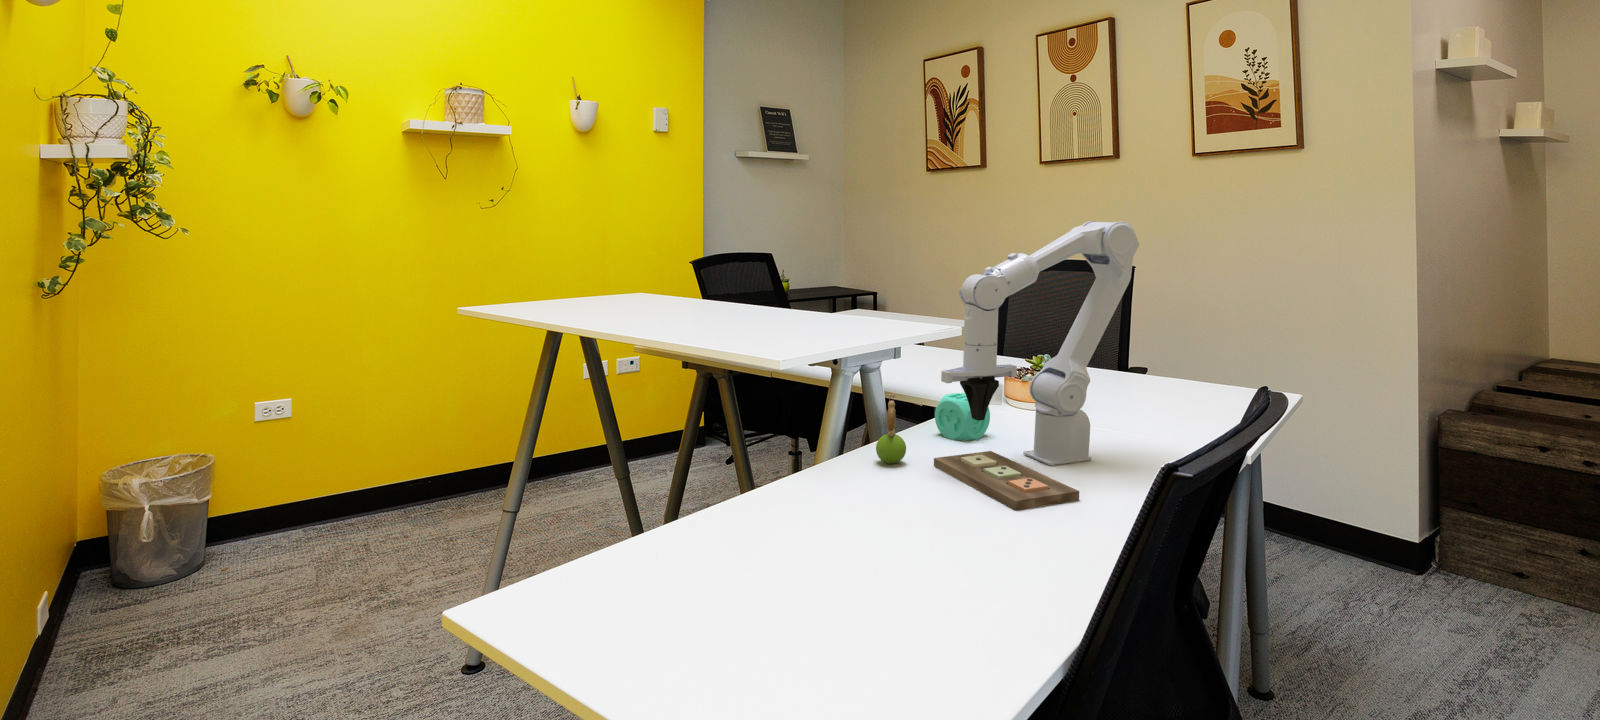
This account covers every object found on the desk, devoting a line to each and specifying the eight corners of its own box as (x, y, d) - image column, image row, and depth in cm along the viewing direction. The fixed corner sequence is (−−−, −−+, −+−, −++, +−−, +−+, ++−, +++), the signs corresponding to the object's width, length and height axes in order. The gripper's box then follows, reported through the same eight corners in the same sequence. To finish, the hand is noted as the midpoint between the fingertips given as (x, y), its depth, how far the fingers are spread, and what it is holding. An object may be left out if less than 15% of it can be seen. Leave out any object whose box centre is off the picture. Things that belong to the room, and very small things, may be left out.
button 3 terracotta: (1030, 489, 135) (1030, 476, 134) (1047, 497, 131) (1048, 485, 130) (1007, 492, 133) (1008, 480, 133) (1024, 501, 129) (1025, 488, 129)
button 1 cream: (981, 465, 148) (982, 454, 147) (996, 472, 144) (996, 460, 143) (960, 468, 146) (960, 456, 146) (974, 475, 142) (974, 463, 142)
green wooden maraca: (905, 457, 152) (906, 394, 150) (906, 467, 146) (907, 402, 144) (875, 456, 153) (876, 393, 151) (875, 467, 147) (876, 401, 145)
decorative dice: (958, 428, 173) (959, 391, 172) (989, 436, 167) (991, 397, 166) (933, 435, 168) (934, 396, 167) (965, 443, 162) (966, 403, 161)
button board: (990, 458, 151) (990, 450, 151) (1078, 500, 129) (1079, 491, 129) (933, 466, 147) (933, 457, 147) (1015, 510, 125) (1015, 500, 125)
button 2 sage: (1004, 476, 141) (1005, 464, 141) (1020, 484, 137) (1021, 472, 137) (983, 479, 140) (983, 467, 139) (998, 487, 136) (998, 475, 135)
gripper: (1001, 337, 151) (998, 410, 153) (932, 343, 145) (931, 418, 147) (1025, 343, 144) (1022, 418, 147) (954, 349, 139) (952, 427, 141)
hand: (978, 419), depth 147 cm, fingers closed
